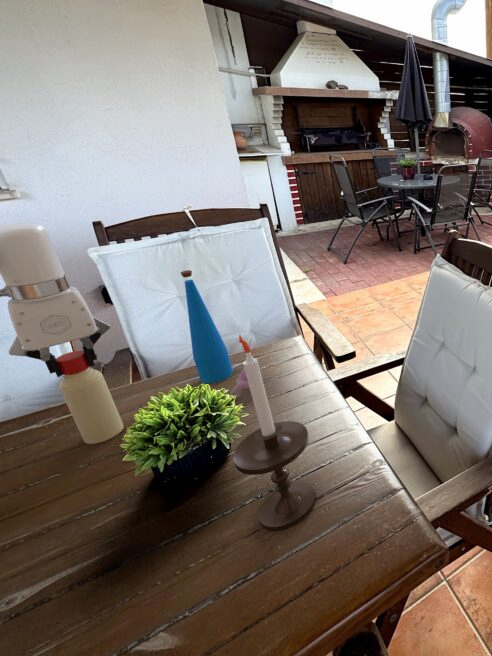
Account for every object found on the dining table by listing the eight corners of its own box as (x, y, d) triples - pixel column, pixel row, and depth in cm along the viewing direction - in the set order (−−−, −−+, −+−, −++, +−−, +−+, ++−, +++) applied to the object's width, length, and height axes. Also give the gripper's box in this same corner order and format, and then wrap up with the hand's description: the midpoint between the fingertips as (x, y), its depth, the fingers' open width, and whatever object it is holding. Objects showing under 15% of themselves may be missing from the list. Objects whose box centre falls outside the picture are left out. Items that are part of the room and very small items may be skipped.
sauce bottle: (77, 447, 85) (39, 369, 78) (94, 427, 90) (60, 353, 84) (115, 439, 87) (82, 363, 80) (129, 420, 93) (99, 347, 86)
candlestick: (238, 523, 69) (180, 346, 57) (290, 475, 78) (250, 314, 66) (285, 545, 65) (234, 361, 53) (334, 491, 75) (300, 325, 63)
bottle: (217, 385, 105) (185, 277, 95) (193, 382, 106) (160, 275, 96) (239, 369, 112) (212, 267, 102) (217, 367, 113) (188, 265, 103)
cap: (56, 377, 80) (49, 363, 79) (69, 366, 84) (63, 352, 83) (83, 372, 82) (77, 359, 81) (94, 362, 85) (89, 348, 84)
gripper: (-32, 307, 68) (14, 396, 75) (103, 280, 80) (133, 358, 87) (-30, 296, 73) (13, 380, 79) (97, 272, 85) (126, 346, 91)
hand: (75, 368), depth 83 cm, fingers closed on cap, 4 cm apart
